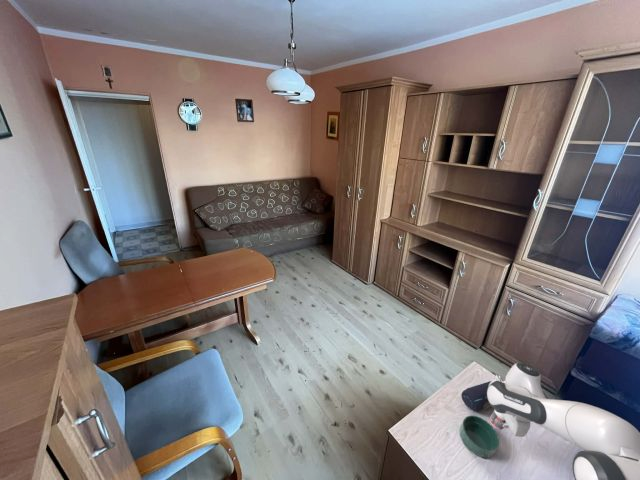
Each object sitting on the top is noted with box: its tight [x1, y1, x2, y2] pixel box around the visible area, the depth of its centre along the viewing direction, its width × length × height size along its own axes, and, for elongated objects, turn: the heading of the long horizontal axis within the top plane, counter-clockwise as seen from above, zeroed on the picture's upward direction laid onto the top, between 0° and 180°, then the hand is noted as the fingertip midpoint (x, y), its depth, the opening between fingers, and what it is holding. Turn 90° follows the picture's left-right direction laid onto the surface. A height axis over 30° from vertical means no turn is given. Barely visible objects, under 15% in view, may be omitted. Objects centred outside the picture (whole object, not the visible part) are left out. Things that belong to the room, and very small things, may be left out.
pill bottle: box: [489, 409, 506, 431], centre depth 108 cm, size 5×5×10 cm
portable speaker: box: [460, 380, 493, 412], centre depth 132 cm, size 25×10×10 cm, turn 107°
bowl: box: [458, 415, 500, 459], centre depth 117 cm, size 14×14×6 cm
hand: (499, 417), depth 109 cm, fingers closed on pill bottle, 5 cm apart
